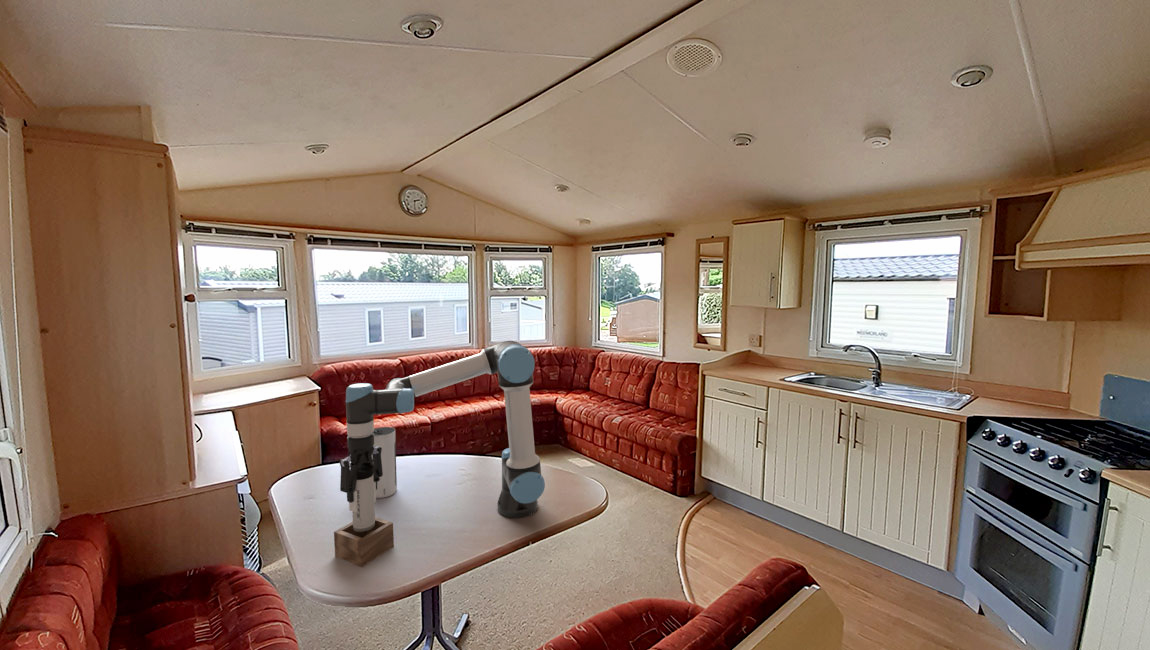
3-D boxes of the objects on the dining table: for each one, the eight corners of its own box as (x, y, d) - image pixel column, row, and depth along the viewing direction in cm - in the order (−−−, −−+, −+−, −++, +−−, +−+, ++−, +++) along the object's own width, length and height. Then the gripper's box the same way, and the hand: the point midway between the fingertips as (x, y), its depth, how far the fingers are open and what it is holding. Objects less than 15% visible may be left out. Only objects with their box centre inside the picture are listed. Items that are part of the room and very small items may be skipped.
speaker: (397, 496, 180) (395, 432, 177) (368, 500, 176) (365, 435, 173) (396, 485, 190) (395, 424, 187) (369, 489, 186) (367, 427, 183)
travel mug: (368, 519, 147) (366, 459, 145) (378, 526, 143) (376, 465, 141) (348, 527, 142) (346, 465, 140) (358, 534, 138) (356, 471, 136)
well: (393, 546, 146) (393, 522, 145) (362, 567, 135) (361, 541, 135) (367, 536, 151) (366, 514, 151) (335, 556, 141) (333, 531, 140)
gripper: (377, 423, 150) (379, 490, 152) (323, 441, 133) (326, 517, 135) (394, 427, 147) (396, 495, 149) (341, 446, 129) (344, 523, 132)
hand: (363, 505), depth 142 cm, fingers closed on travel mug, 6 cm apart
